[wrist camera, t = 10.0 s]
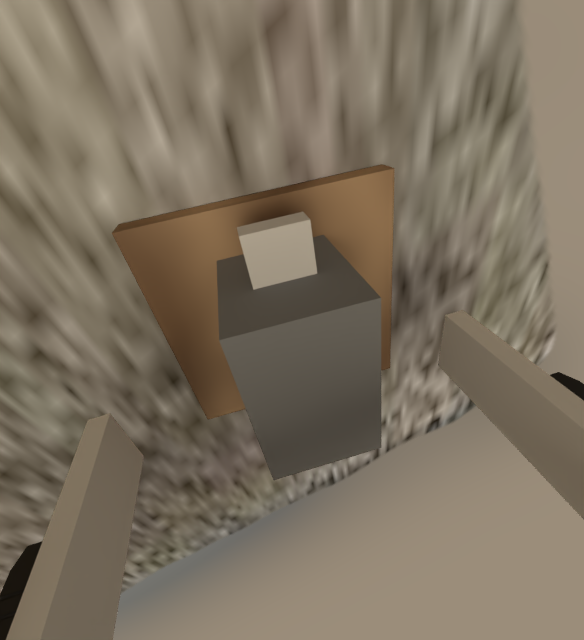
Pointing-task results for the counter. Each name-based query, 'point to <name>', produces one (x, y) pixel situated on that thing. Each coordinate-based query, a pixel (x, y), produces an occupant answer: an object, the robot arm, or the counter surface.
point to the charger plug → (301, 345)
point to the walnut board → (223, 242)
